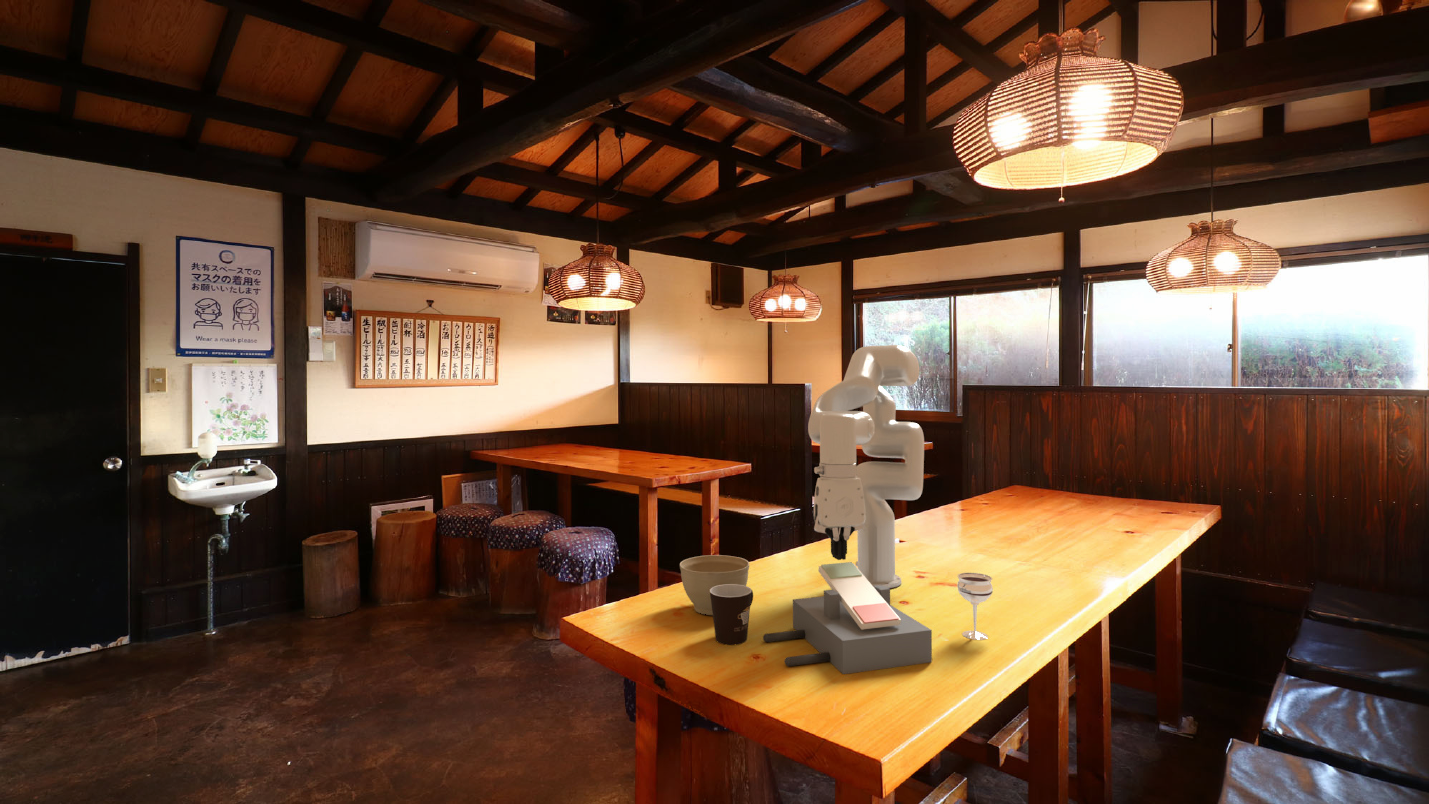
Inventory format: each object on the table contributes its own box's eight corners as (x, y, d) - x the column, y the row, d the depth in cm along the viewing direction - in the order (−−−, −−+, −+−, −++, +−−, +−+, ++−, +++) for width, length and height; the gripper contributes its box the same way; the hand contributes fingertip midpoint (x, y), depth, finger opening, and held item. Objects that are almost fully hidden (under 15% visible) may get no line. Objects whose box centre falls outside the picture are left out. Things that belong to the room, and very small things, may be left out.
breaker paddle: (817, 572, 139) (818, 564, 138) (853, 568, 141) (854, 561, 140) (860, 630, 120) (861, 622, 120) (900, 625, 122) (902, 618, 122)
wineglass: (959, 627, 139) (959, 571, 138) (994, 632, 136) (994, 574, 135) (955, 638, 133) (955, 579, 132) (991, 643, 129) (991, 583, 129)
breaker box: (754, 631, 138) (753, 580, 137) (869, 618, 144) (868, 570, 144) (797, 680, 114) (796, 619, 114) (931, 662, 121) (931, 604, 121)
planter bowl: (764, 610, 151) (763, 563, 151) (709, 627, 141) (708, 577, 140) (720, 594, 163) (719, 550, 163) (666, 608, 153) (666, 562, 153)
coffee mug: (722, 650, 128) (722, 599, 128) (703, 635, 136) (702, 588, 136) (772, 639, 133) (772, 590, 133) (751, 625, 141) (750, 579, 141)
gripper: (812, 475, 132) (813, 565, 132) (879, 472, 136) (879, 559, 136) (798, 471, 139) (799, 556, 140) (862, 468, 143) (862, 551, 143)
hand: (839, 558), depth 138 cm, fingers closed
